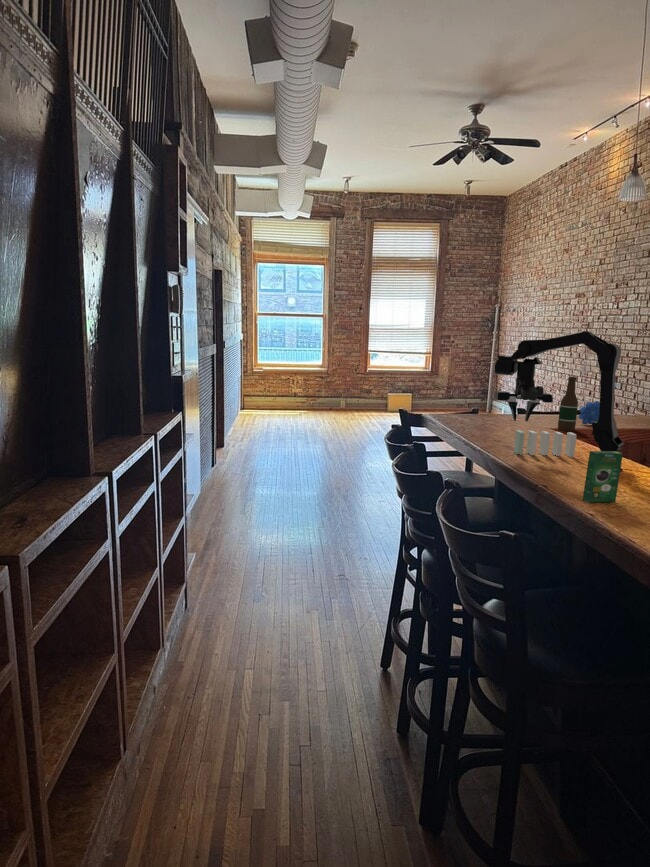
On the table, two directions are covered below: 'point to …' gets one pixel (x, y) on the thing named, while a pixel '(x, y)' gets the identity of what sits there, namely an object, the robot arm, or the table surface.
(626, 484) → the table surface
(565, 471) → the table surface
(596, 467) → the coffee box
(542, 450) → the domino
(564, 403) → the beer bottle
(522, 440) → the domino
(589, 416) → the grapes
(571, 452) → the domino
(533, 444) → the domino
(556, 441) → the domino
